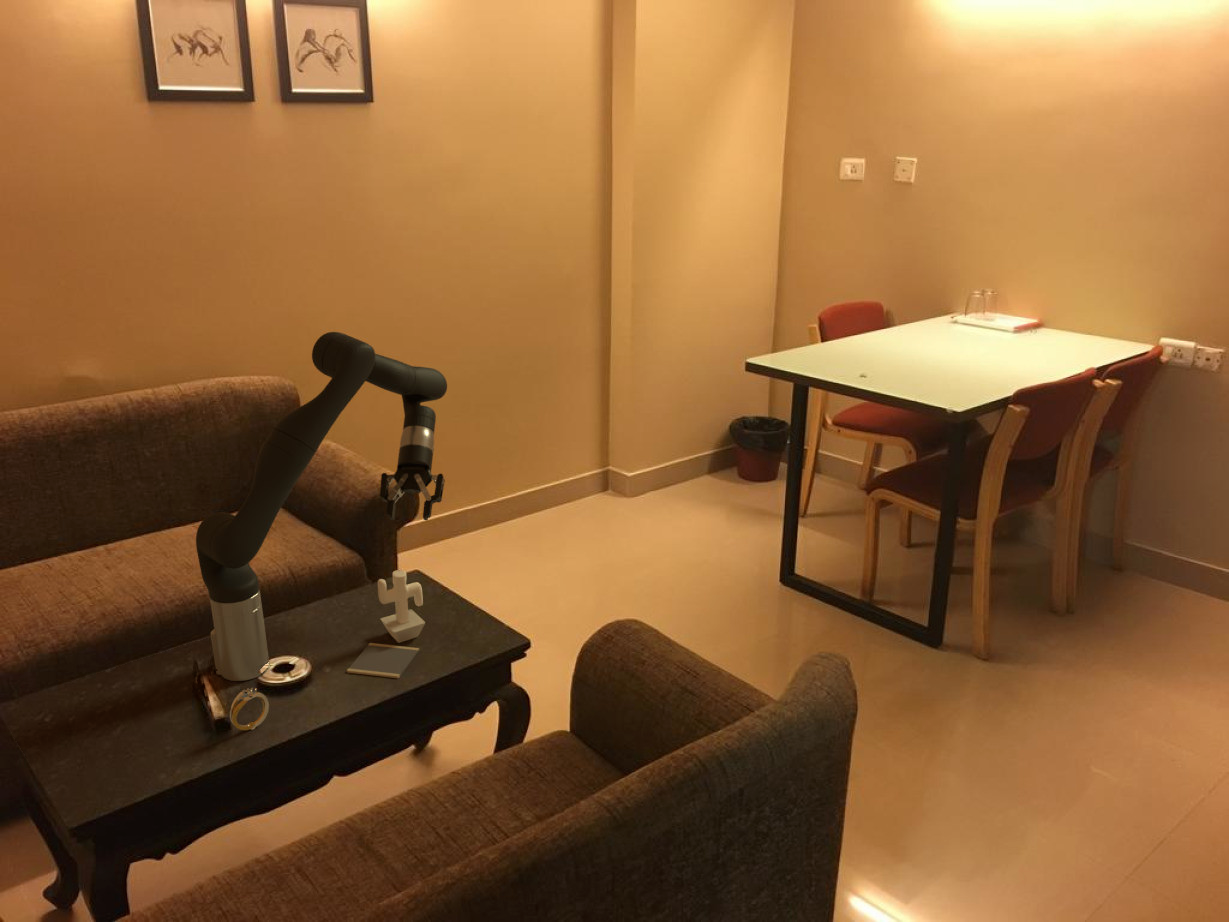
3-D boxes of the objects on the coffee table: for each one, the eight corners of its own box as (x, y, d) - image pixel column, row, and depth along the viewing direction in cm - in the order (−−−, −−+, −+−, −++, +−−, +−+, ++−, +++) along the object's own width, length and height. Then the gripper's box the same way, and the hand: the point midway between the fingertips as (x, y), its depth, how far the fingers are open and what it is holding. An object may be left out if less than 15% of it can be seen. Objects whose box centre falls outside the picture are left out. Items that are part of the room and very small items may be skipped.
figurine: (431, 636, 210) (427, 573, 205) (390, 649, 204) (384, 585, 199) (417, 622, 215) (412, 560, 210) (376, 635, 210) (370, 572, 205)
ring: (266, 717, 181) (261, 679, 179) (274, 724, 179) (269, 687, 177) (229, 732, 177) (224, 694, 174) (237, 740, 175) (231, 701, 172)
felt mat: (346, 672, 196) (346, 670, 196) (370, 644, 206) (369, 642, 206) (398, 678, 194) (398, 676, 194) (419, 650, 204) (419, 648, 204)
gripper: (380, 442, 217) (371, 511, 210) (445, 443, 216) (438, 512, 209) (388, 457, 223) (379, 524, 216) (450, 457, 223) (444, 525, 216)
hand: (408, 518), depth 213 cm, fingers open, 7 cm apart
